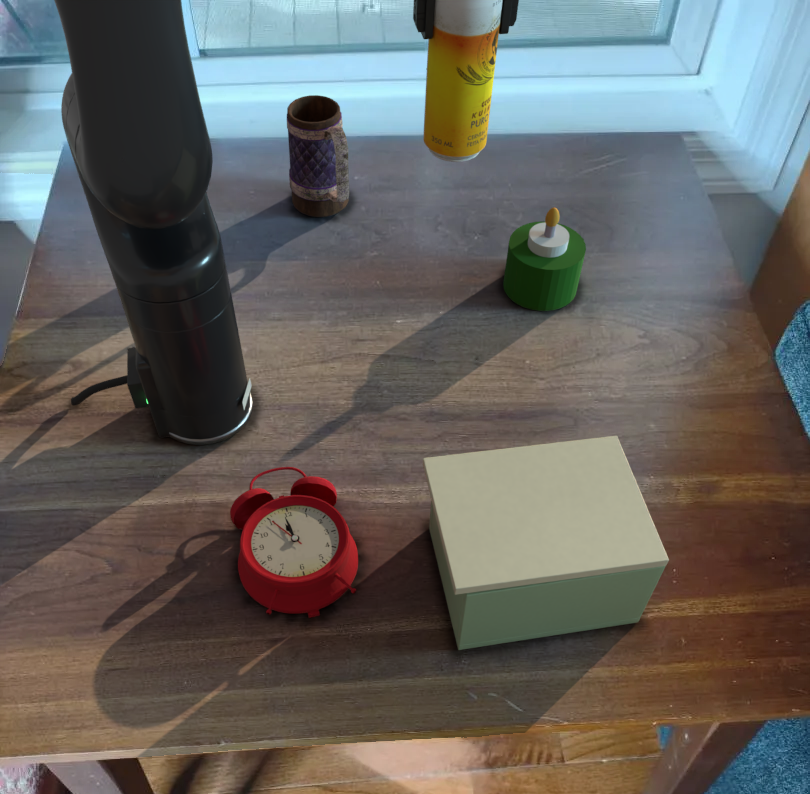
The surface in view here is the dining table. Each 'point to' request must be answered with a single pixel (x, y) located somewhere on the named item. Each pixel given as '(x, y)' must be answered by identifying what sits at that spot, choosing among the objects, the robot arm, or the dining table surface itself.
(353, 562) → the alarm clock
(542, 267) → the candle
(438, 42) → the beer can
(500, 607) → the chest
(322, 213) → the mug
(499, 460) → the lid
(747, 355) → the dining table surface
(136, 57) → the robot arm
